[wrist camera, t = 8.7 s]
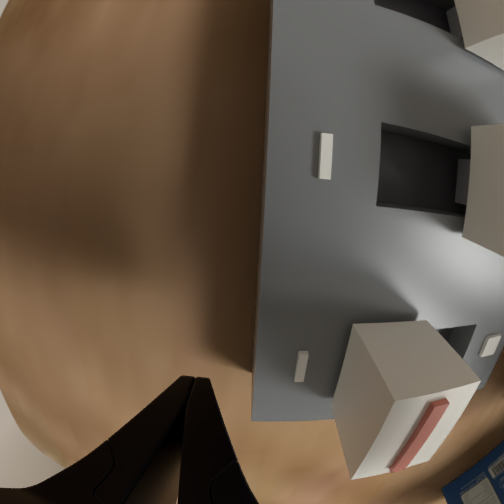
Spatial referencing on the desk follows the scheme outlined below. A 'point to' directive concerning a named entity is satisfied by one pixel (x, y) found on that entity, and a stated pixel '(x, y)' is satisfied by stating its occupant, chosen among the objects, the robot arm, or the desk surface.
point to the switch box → (367, 194)
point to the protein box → (479, 481)
